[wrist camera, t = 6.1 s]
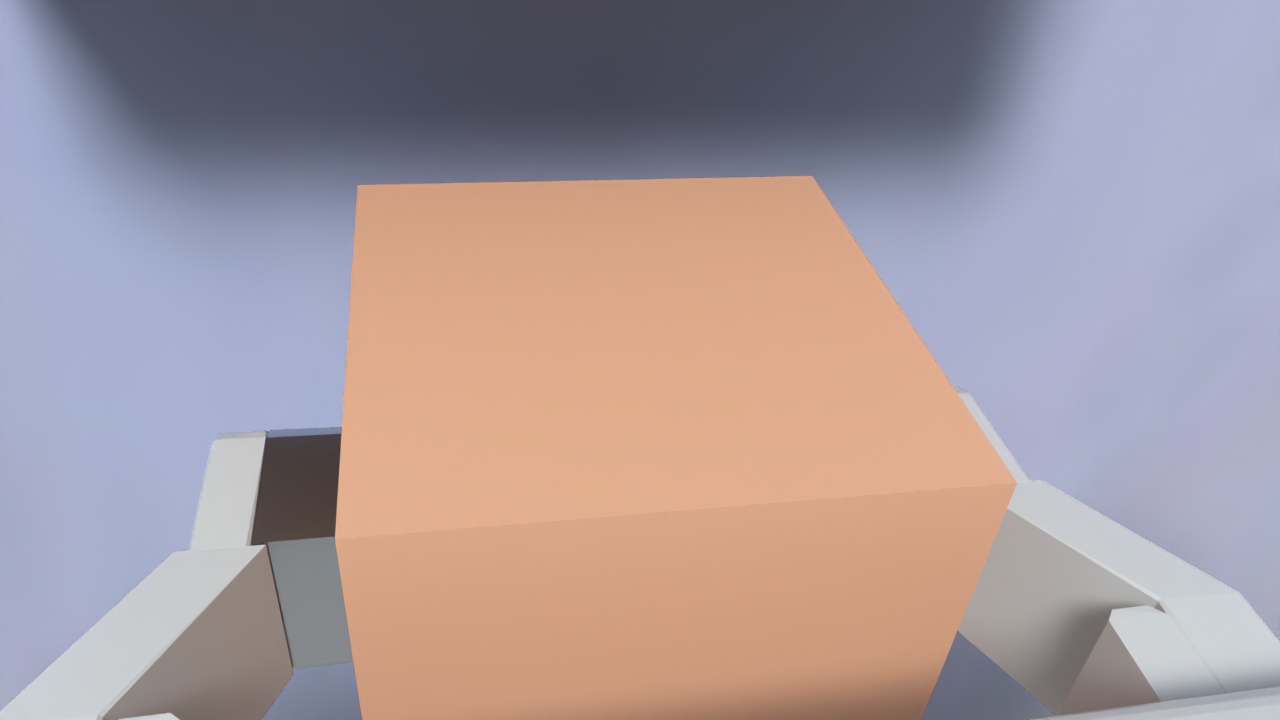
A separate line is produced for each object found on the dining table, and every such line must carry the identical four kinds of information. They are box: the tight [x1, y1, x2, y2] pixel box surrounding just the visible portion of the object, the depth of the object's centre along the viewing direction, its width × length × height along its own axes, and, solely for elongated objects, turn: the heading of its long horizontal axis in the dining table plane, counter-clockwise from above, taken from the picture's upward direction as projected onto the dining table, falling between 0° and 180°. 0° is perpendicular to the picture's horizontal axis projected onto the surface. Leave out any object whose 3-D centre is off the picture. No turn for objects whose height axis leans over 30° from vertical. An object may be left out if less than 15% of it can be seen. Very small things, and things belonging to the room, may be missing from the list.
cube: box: [335, 176, 1017, 720], centre depth 11 cm, size 5×5×5 cm
